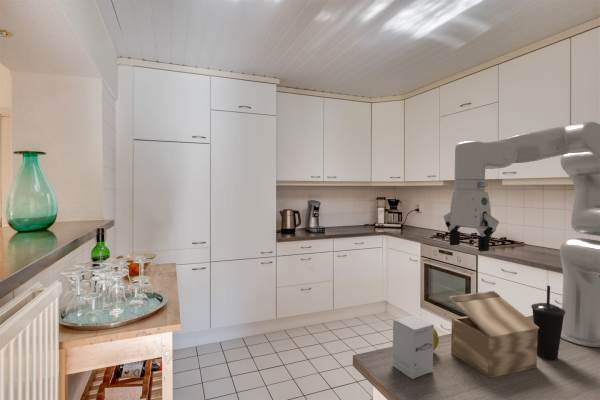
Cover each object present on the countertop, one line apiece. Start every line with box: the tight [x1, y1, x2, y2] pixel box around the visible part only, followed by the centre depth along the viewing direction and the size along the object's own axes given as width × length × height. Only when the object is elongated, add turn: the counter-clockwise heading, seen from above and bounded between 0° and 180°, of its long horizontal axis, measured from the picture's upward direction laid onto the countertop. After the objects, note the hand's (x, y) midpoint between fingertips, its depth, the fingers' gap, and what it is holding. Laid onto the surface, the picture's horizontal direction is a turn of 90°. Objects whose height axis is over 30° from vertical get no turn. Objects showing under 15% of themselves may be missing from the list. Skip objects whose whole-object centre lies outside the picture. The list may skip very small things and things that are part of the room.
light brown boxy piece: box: [450, 315, 538, 379], centre depth 89 cm, size 16×13×10 cm
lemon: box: [433, 328, 440, 351], centre depth 93 cm, size 6×6×8 cm
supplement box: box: [391, 315, 435, 380], centre depth 84 cm, size 7×7×13 cm
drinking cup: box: [530, 285, 566, 361], centre depth 91 cm, size 8×8×20 cm
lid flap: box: [448, 290, 539, 338], centre depth 89 cm, size 17×15×1 cm
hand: (468, 247), depth 91 cm, fingers open, 9 cm apart
